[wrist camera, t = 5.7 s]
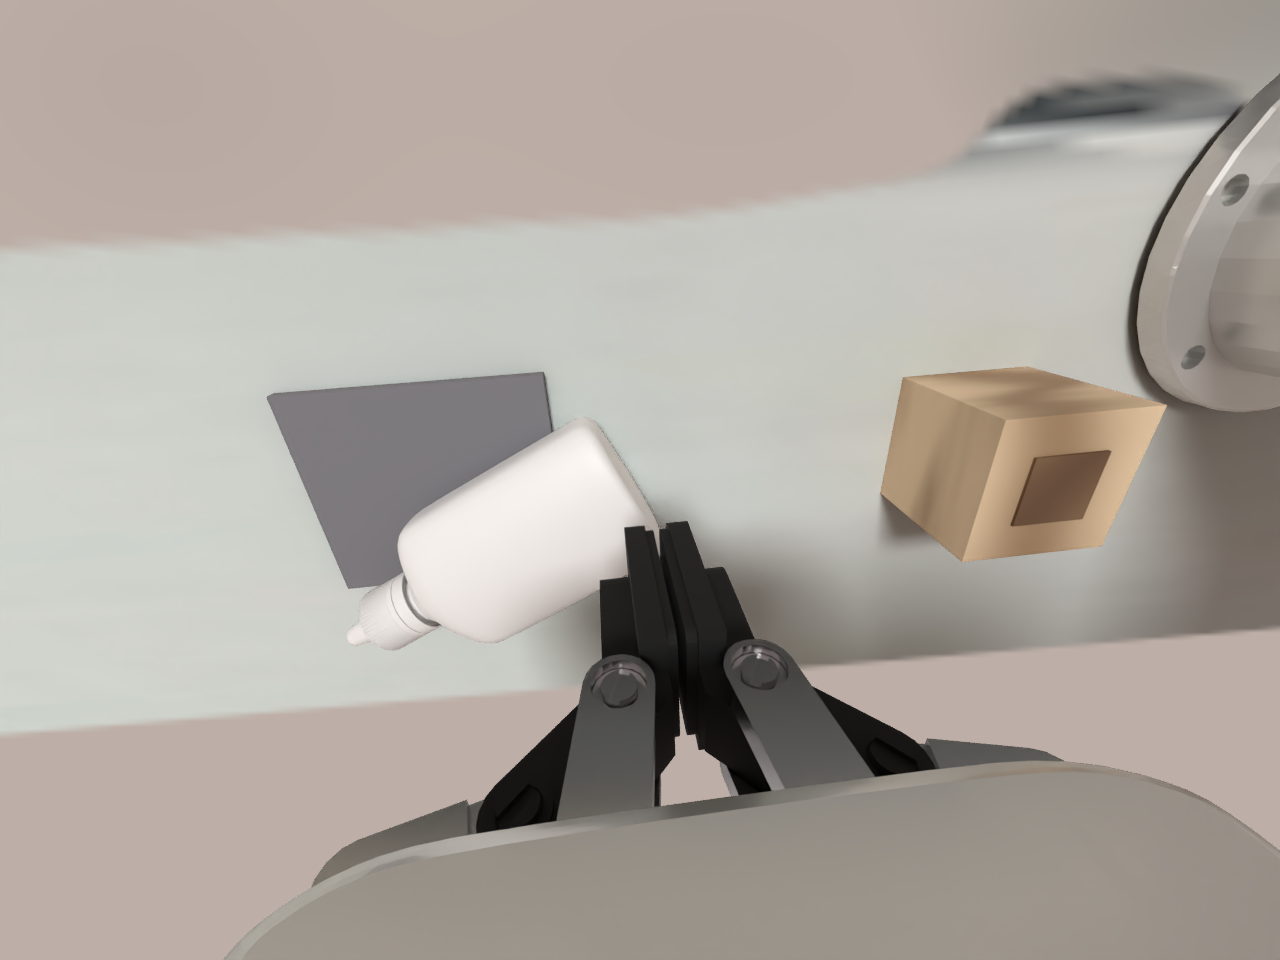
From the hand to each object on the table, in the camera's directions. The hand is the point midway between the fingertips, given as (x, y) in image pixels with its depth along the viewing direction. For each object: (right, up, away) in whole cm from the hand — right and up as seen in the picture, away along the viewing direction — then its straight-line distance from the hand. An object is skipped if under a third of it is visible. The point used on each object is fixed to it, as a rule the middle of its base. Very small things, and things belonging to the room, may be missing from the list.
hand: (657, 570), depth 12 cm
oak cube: (+12, +4, +7) cm, 15 cm away
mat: (-8, +2, +5) cm, 10 cm away
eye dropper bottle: (-1, +2, +4) cm, 5 cm away
